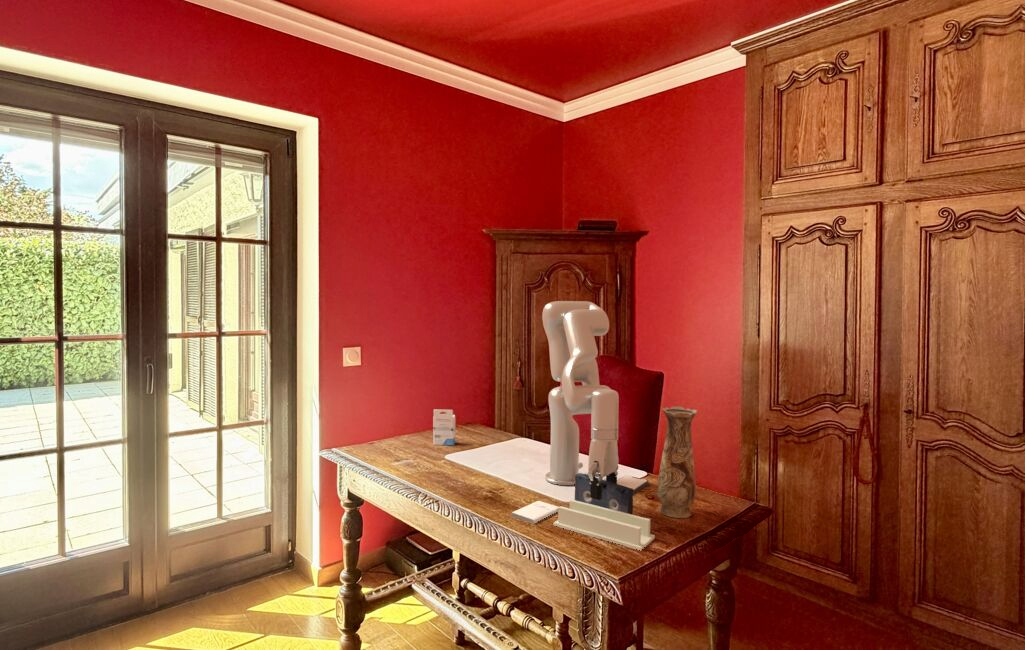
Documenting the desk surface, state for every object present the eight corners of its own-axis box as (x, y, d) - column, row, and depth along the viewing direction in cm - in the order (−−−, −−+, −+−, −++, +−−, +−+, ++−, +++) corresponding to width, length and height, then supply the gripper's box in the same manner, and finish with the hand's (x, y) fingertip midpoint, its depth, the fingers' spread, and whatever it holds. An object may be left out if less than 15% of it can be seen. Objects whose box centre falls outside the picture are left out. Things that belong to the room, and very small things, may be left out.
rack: (569, 515, 160) (570, 497, 159) (654, 538, 145) (655, 519, 145) (553, 525, 152) (553, 507, 152) (641, 551, 138) (641, 531, 138)
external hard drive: (510, 517, 159) (537, 505, 168) (534, 525, 153) (560, 512, 163) (511, 512, 158) (537, 499, 168) (534, 519, 153) (560, 506, 163)
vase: (650, 512, 163) (653, 409, 161) (668, 502, 170) (671, 404, 169) (684, 522, 156) (687, 415, 154) (701, 511, 163) (704, 409, 162)
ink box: (455, 442, 235) (455, 407, 234) (453, 445, 230) (453, 410, 229) (435, 441, 236) (435, 406, 235) (432, 444, 231) (432, 409, 230)
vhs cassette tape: (633, 524, 154) (633, 488, 154) (626, 527, 152) (627, 490, 152) (580, 505, 167) (580, 472, 167) (573, 508, 165) (574, 474, 165)
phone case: (628, 499, 174) (649, 484, 187) (628, 494, 174) (649, 480, 187) (602, 493, 180) (625, 479, 192) (602, 488, 180) (625, 474, 192)
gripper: (605, 426, 168) (605, 483, 168) (577, 437, 153) (577, 499, 154) (629, 430, 163) (628, 488, 164) (603, 441, 149) (602, 505, 150)
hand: (603, 494), depth 159 cm, fingers open, 9 cm apart
